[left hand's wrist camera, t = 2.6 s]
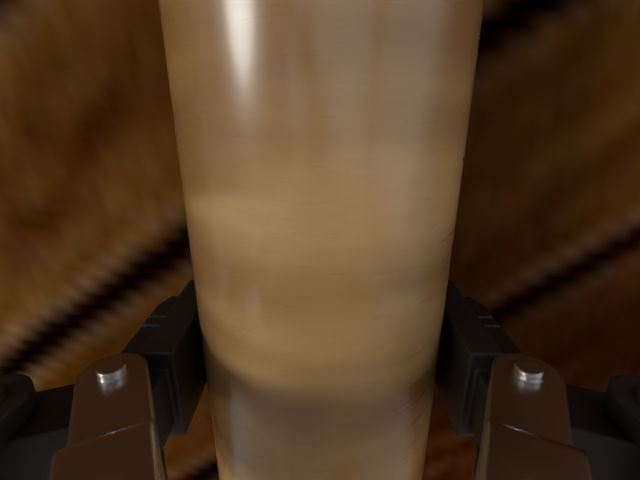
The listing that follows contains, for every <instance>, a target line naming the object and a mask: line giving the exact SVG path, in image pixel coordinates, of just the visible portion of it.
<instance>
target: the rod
mask: <svg viewBox="0 0 640 480" xmlns="http://www.w3.org/2000/svg"><path fill="white" fill-rule="evenodd" d="M159 8H160V15H161V23H162V31H163V39H164V47H165V55H166V62H167V70H168V78H169V86H170V94H171V102H172V110H173V117H174V125H175V133H176V141H177V149H178V157H179V164H180V172H181V180H182V188H183V196H184V204H185V212H186V219H187V227H188V235H189V243H190V251H191V259H192V267H193V274H194V282H195V290H196V298H197V306H198V314H199V321H200V329H201V337H202V345H203V353H204V361H205V369H206V376H207V384H208V392H209V400H210V408H211V416H212V424H213V431H214V439H215V447H216V455H217V463H218V471H219V478H220V480H422V477H423V469H424V461H425V454H426V446H427V438H428V431H429V423H430V415H431V407H432V400H433V392H434V384H435V377H436V369H437V361H438V354H439V346H440V338H441V331H442V323H443V315H444V308H445V300H446V292H447V284H448V277H449V269H450V261H451V254H452V246H453V238H454V231H455V223H456V215H457V208H458V200H459V192H460V185H461V177H462V169H463V162H464V154H465V146H466V138H467V131H468V123H469V115H470V108H471V100H472V92H473V85H474V77H475V69H476V62H477V54H478V46H479V39H480V31H481V23H482V15H483V8H484V0H159Z"/></svg>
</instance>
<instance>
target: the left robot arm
mask: <svg viewBox="0 0 640 480" xmlns="http://www.w3.org/2000/svg"><path fill="white" fill-rule="evenodd" d="M206 382H207V376H206V369H205V361H204V353H203V345H202V337H201V329H200V321H199V314H198V306H197V298H196V290H195V282H194V280H191V281H190V282H189V283H188V284H187V286H186V287H185V289H184V290H183V291H182V293H181V294H180V296H179V297H170V298H169V299H167V300H166V301H164V302H163V303H161V304H159V305H158V306H157V307H156V309H155V310H154V311H153V312H152V314H151V315H150V318H148V319H147V320H146V321H145V323H144V324H143V327H141V328H140V329H139V330H138V332H137V333H136V334H135V336H134V337H133V338H132V340H131V341H130V342H129V343H128V345H127V346H126V347H125V349H124V350H123V351H122V352H121V354H115V355H111V356H107V357H105V358H102V359H100V360H98V361H96V362H94V363H92V364H90V365H89V366H88V367H86V368H85V369H84V370H83V371H82V372H81V373H80V374H79V375H78V377H77V379H76V381H75V384H72V385H68V386H63V387H59V388H54V389H49V390H44V391H40V392H36V391H35V388H34V385H33V382H32V380H31V378H30V377H28V376H26V375H23V374H7V375H1V376H0V480H169V479H168V473H167V466H166V459H165V453H164V448H163V447H164V445H165V443H166V441H167V438H168V436H169V435H186V433H187V430H188V428H189V425H190V423H191V420H192V417H193V415H194V412H195V410H196V407H197V405H198V402H199V400H200V397H201V395H202V392H203V390H204V387H205V385H206ZM435 382H436V385H437V387H438V390H439V392H440V395H441V397H442V399H443V402H444V404H445V407H446V409H447V412H448V414H449V417H450V419H451V422H452V424H453V427H454V429H455V432H456V434H457V436H474V437H475V439H476V442H477V447H476V453H475V459H474V466H473V472H472V479H471V480H640V377H639V376H633V375H620V376H616V377H614V378H612V379H611V380H610V382H609V385H608V388H607V391H606V393H604V392H599V391H595V390H590V389H585V388H580V387H576V386H572V385H568V384H565V381H564V379H563V377H562V375H561V374H560V373H559V372H558V371H557V370H556V369H555V368H554V367H552V366H551V365H550V364H548V363H546V362H544V361H542V360H540V359H538V358H535V357H533V356H529V355H525V354H522V353H521V352H520V351H519V349H518V348H517V347H516V345H515V344H514V343H513V342H512V340H511V339H510V338H509V337H508V335H507V334H506V333H505V331H504V330H503V329H502V328H500V325H499V324H498V323H497V321H496V320H495V319H493V316H492V315H491V314H490V312H489V311H488V310H487V309H486V307H485V306H484V305H482V304H481V303H479V302H477V301H476V300H474V299H473V298H471V297H463V296H462V294H461V293H460V291H459V290H458V289H457V287H456V286H455V284H454V283H453V282H452V281H448V284H447V292H446V300H445V308H444V315H443V323H442V331H441V338H440V346H439V354H438V361H437V369H436V377H435Z"/></svg>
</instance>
